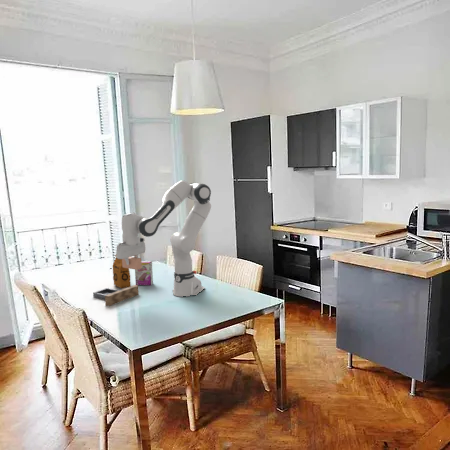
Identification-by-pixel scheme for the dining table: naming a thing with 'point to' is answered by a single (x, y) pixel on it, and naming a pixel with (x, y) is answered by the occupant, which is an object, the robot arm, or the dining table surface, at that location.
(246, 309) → the dining table surface
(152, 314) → the dining table surface
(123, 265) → the block
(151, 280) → the candy bar box
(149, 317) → the dining table surface
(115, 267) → the coffee package
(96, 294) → the tray
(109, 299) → the walnut board
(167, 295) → the dining table surface
